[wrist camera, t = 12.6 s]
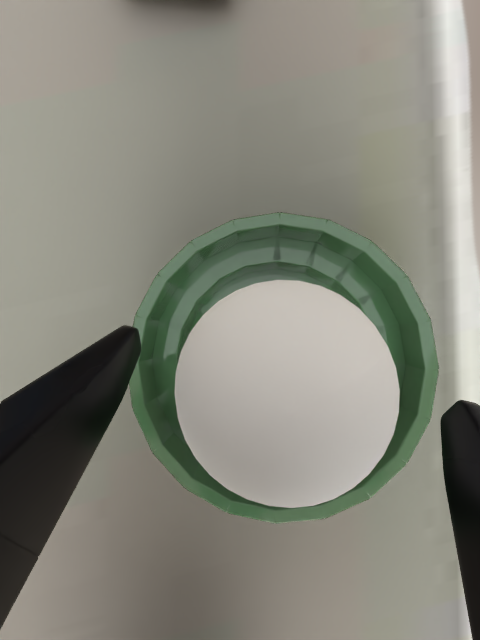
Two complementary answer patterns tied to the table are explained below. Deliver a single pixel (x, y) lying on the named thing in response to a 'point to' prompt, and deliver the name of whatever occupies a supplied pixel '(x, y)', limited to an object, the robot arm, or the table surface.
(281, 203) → the table surface
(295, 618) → the table surface
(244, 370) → the light bulb
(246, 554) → the table surface
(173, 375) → the bowl
